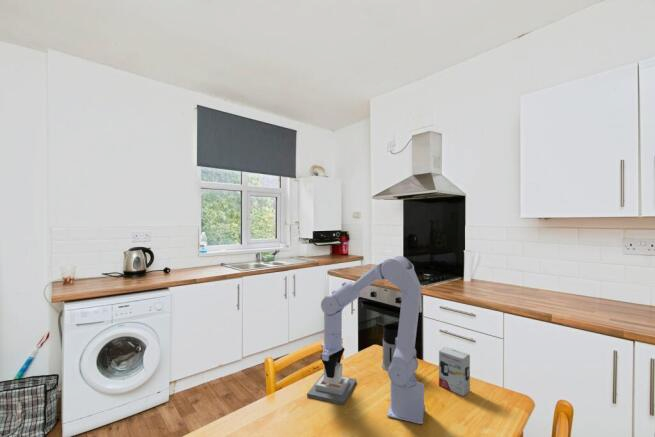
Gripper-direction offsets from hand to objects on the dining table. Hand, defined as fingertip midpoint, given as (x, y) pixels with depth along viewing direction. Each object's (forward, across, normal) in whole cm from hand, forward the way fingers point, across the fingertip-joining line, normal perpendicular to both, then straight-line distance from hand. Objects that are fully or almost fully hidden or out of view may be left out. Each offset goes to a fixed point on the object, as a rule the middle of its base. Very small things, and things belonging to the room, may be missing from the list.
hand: (332, 373), depth 98 cm
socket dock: (+5, 0, 0) cm, 5 cm away
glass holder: (+5, -20, +17) cm, 27 cm away
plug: (+2, 0, 0) cm, 2 cm away
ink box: (+5, -15, +37) cm, 40 cm away
